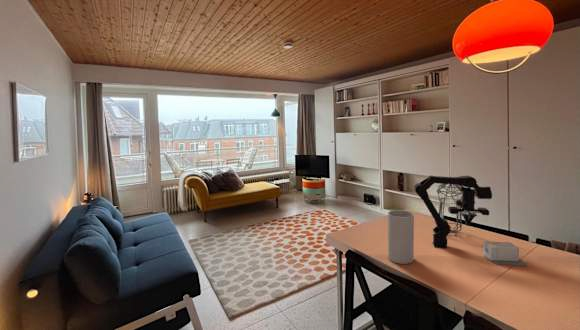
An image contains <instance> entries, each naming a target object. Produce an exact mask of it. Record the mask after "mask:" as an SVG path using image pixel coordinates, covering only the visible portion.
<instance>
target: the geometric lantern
mask: <svg viewBox="0 0 580 330" xmlns="http://www.w3.org/2000/svg"><path fill="white" fill-rule="evenodd" d="M447 185H448V186H447ZM437 187H438V188H437V189H436V190H435V191H436V192H437V195H438V200H439V207H438V213H439V215H440V217H441V218H442V219H444V214H445V213H444V212H445V204H446V202H445V201H446V199H447V200H451V199H452V200H453V201H454V202H453V203H452V202H447V204H449V205H451V204H452V205H454V204H456V200H460V201H461V202H462V197H463V191H460V190H459V188H460V187H461V185H457V184H441V183H440V184H439V185H437ZM442 189H444V190H446V191H444V190H442ZM456 189H457V190H456ZM459 191H460V192H459ZM457 192H459V193H457ZM448 194H450V195H449V196H448ZM453 194H454V195H453ZM440 195H441V197H440ZM443 195H444V197H443ZM459 195H461V197H459ZM454 197H457V198H454ZM456 207H457V208H458V209H462V208H460V206H456ZM462 218H463V216H462V215H461V214H460V213H458V214H456V223H454V222H448V224H449V225H450V224H451V225H455V226H454V227H452V229H451V231H450V233H449V234H451V236H452V237H453V236H455V237H456V236H458V233H459V232H461V231H462V226H463V225H462V223H463V222H462V220H463V219H462ZM458 229H459V230H458Z"/></svg>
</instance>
